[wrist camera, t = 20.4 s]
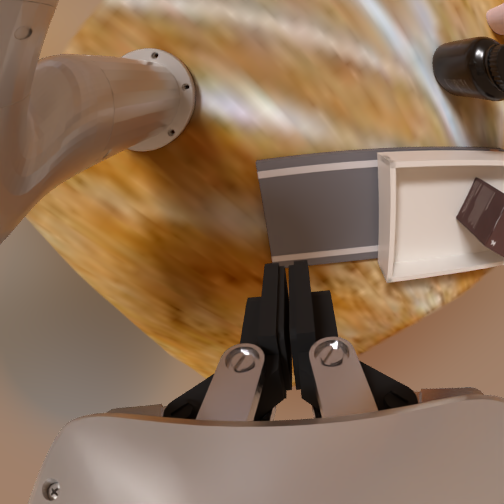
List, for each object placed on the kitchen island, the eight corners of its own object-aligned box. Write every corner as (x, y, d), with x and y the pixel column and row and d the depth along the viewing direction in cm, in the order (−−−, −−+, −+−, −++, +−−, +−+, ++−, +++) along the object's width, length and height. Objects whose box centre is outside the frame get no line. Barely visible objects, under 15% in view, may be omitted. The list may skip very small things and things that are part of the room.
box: (482, 234, 32) (511, 264, 25) (453, 217, 31) (483, 246, 25) (503, 195, 29) (536, 219, 22) (475, 174, 28) (510, 196, 22)
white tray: (376, 259, 38) (386, 282, 33) (375, 151, 31) (389, 162, 26) (496, 244, 34) (513, 263, 30) (507, 150, 28) (531, 161, 23)
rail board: (273, 264, 41) (273, 269, 40) (256, 160, 34) (255, 162, 33) (489, 240, 36) (493, 244, 35) (500, 148, 29) (504, 150, 28)
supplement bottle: (482, 87, 26) (543, 98, 15) (443, 102, 28) (503, 115, 17) (461, 37, 23) (521, 30, 13) (421, 49, 25) (476, 40, 15)
